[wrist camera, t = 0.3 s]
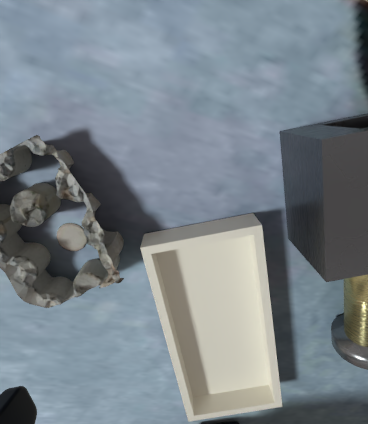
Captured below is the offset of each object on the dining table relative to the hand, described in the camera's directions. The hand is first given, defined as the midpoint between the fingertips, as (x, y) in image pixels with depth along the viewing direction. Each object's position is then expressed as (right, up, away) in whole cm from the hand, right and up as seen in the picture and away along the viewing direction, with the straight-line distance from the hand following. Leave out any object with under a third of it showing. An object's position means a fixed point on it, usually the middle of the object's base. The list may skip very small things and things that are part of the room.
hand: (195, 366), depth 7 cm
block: (+11, +6, +13) cm, 18 cm away
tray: (+2, -5, +17) cm, 17 cm away
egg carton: (-10, +4, +14) cm, 17 cm away
